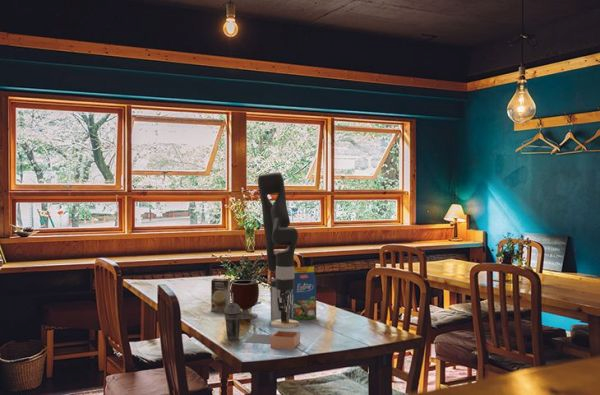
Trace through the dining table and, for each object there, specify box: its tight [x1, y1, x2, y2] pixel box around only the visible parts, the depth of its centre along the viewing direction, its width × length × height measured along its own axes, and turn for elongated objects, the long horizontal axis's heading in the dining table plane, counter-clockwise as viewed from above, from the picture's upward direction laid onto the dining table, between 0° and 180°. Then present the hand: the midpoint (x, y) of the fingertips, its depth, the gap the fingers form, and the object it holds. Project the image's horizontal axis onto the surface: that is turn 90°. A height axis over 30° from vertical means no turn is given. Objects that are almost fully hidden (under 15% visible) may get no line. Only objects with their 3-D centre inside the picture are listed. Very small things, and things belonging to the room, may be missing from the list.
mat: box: [243, 333, 272, 345], centre depth 249 cm, size 14×14×1 cm
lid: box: [270, 307, 300, 329], centre depth 239 cm, size 11×11×7 cm
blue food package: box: [290, 266, 317, 321], centre depth 290 cm, size 6×12×25 cm, turn 111°
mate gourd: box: [230, 276, 261, 320], centre depth 294 cm, size 16×14×20 cm
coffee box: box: [210, 278, 231, 312], centre depth 309 cm, size 9×6×16 cm
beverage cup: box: [223, 293, 242, 341], centre depth 249 cm, size 7×7×20 cm
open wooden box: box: [269, 330, 301, 350], centre depth 239 cm, size 10×10×5 cm
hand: (285, 319), depth 239 cm, fingers closed on lid, 3 cm apart
